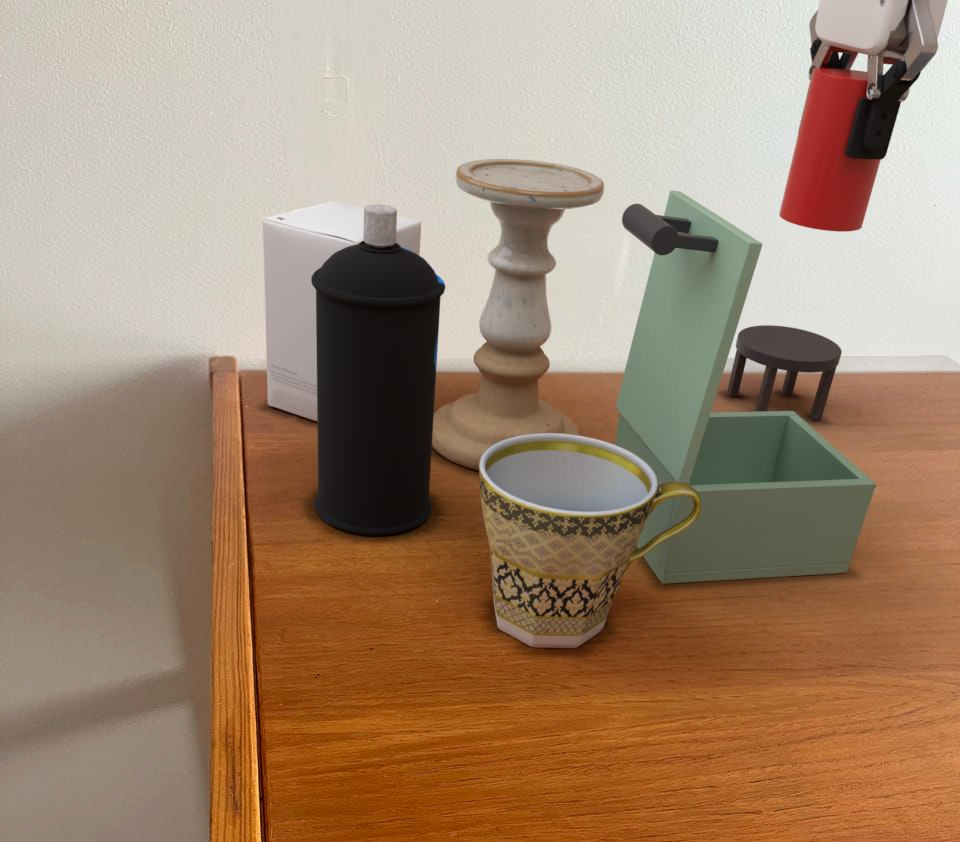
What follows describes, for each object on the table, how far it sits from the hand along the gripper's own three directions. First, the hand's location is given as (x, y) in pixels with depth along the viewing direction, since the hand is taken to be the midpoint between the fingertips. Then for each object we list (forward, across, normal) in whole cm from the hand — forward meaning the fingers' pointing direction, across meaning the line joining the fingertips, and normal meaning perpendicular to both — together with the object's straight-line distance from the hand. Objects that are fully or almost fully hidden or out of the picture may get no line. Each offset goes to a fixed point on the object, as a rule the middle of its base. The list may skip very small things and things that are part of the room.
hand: (839, 145), depth 81 cm
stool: (+22, +1, -1) cm, 22 cm away
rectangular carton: (+22, +3, +38) cm, 44 cm away
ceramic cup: (+22, -30, +29) cm, 47 cm away
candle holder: (+22, -5, +26) cm, 35 cm away
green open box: (+22, -21, +15) cm, 34 cm away
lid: (+8, -21, +20) cm, 30 cm away
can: (+6, 0, 0) cm, 6 cm away
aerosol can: (+22, -15, +38) cm, 47 cm away
